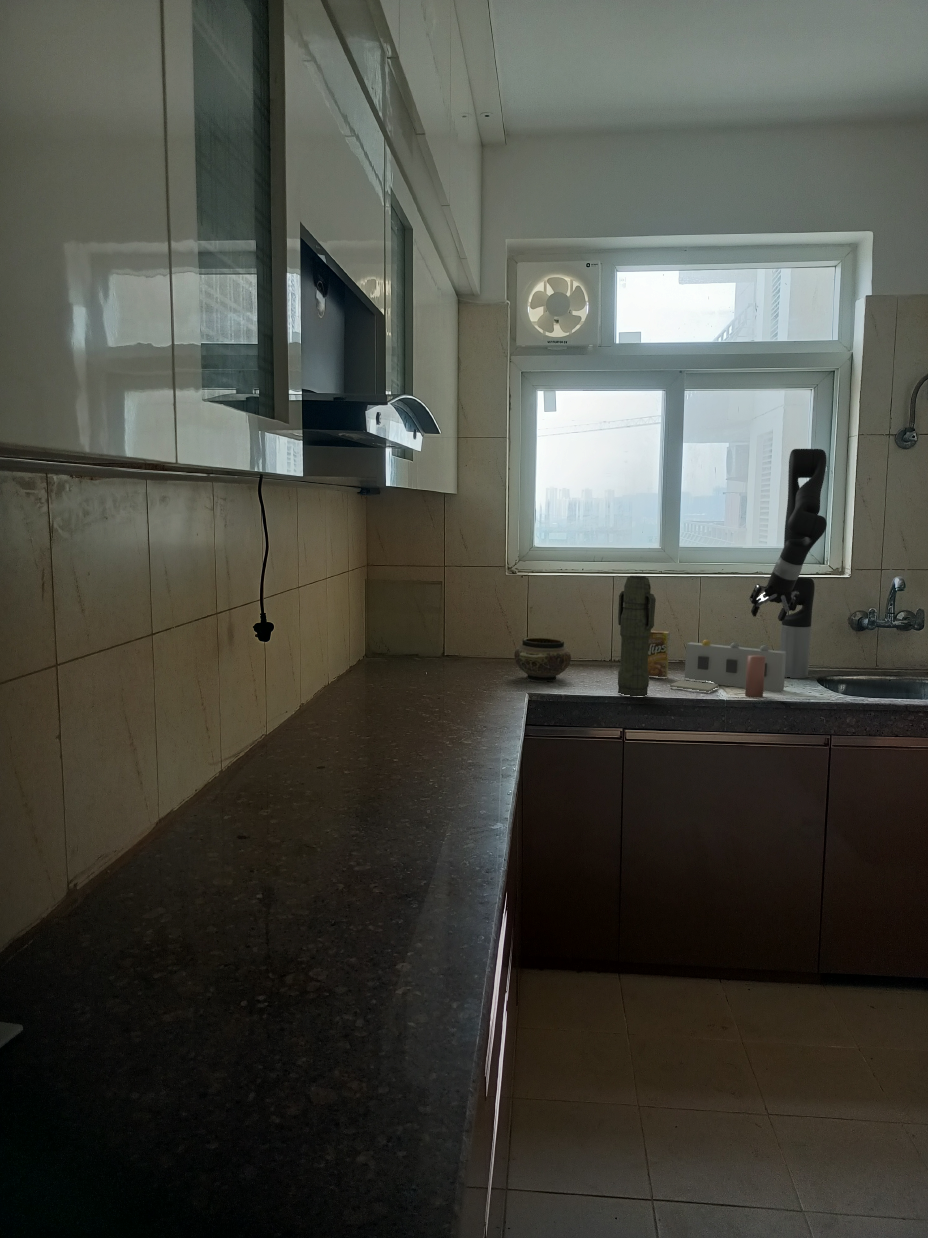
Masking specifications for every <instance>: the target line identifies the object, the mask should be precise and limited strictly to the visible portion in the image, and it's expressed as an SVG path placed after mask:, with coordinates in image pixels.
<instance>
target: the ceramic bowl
mask: <svg viewBox="0 0 928 1238" xmlns="http://www.w3.org/2000/svg"><path fill="white" fill-rule="evenodd" d="M521 642H522V644H520V645H519V646H517V648H515V651H514V656H513V657H514V660H515V663H516V665H517V667H518V669H519V670H521V671H522V672H523V673H525V674H526V679H527V680H528V681H530V680H531V682H533V681H537V682H536V683H548V682H547V681H553V682H555V681H557V676H559V675H561V674H562V673H563V672H565V671H566V669H568V667H569V665H570V663H571V660H572V656H571V653H570V651H569V649H568V648H566V647H565V641H564V640H563V639H562V640H561V639H558V638H553V637H552V638H551V637H540V636H528V637H523V638H522V641H521ZM554 680H555V681H554Z"/></svg>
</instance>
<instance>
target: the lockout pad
mask: <svg viewBox="0 0 928 1238" xmlns="http://www.w3.org/2000/svg"><path fill="white" fill-rule="evenodd" d="M670 687H677V688H683V689H692V690H699V691H706V692H709V691H711V690H713V689H715V688H718V687H720V686H719V685H718V684H710V683H702V682H694V681H686V680H685V679H684V680H683V679H681V680H678V681H676V682H673V683H672V684H669V688H670Z"/></svg>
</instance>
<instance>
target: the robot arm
mask: <svg viewBox="0 0 928 1238" xmlns="http://www.w3.org/2000/svg"><path fill="white" fill-rule="evenodd" d="M826 469H827V454H826V451H825V450H824V449H821V448H794V449H792V450H791V451H790V454H789V458H788V471H787V472H788V473H787V474H788V475H787V476H788V480H787V481H788V483H787V484H788V485H787V488H788V489H787V506H786V513H785V514H786V515H785V521H784V522H785V524H784V538H783V548H782V550H781V553H780V555H779V557H778V559H777V561H776V563H775V565H774V567H773V570H772V572H771V574H770V575H769V579H768V582H767V584H766V585H765V586H762V585H760V583H756V584H755V586H754V588H753V590H752V592H751V594H750V596H749V598H748V599H749V601H750V602H751V603H750V604H751V605H752V607H751V610H750V612H751V615H752V617H754V618H755V617H757V614H758V613H759V610H760V608H761V606H762V605H764V604H767V603H768V602H769V603H776V604H781V605H782V607H781V609H780V611H779V614H778V615H777V619H778V621H779V622H781V629H780V630H781V631H780V643H779V644H780V646H779V651H784V652H786V663H785V678H787V677H790V678H789V679H807V678H808V677H809V664H810V663H809V662H810V650H811V647H810V646H811V634H812V633H811V632H812V618H813V617H812V615H813V605H814V599H815V587H816V586H815V581H814V579H813V578H810V577H800V575H801V571H802V569H803V565H804V564H805V560H806V559H807V557H808V554H809V553H810V550H811V549H812V548H813V547H814V546H815V544H816V543H817V542H818V540H820V539H821V537H822V536H823V535H824V533H825V532H826V529H827V526H828V525H827V519H826V517H824V516H822V515H819V513H820V510H821V496H822V495H821V493H822V488H823V485H824V481H825V475H826ZM799 479H808V480H807V481H806V482H804V483H803V484H802V485H801V486H800V483H799ZM762 592H763V593H762ZM798 606H801V608H800V609H799V610H798V611H796V609H797V607H798ZM791 611H792V612H793V613H791V614H790V613H789V614H788V612H791Z"/></svg>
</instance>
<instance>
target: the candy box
mask: <svg viewBox="0 0 928 1238" xmlns="http://www.w3.org/2000/svg"><path fill="white" fill-rule="evenodd" d="M670 634H671V633H670V631H665V630H651V636H650V638H649V646H648V671H649V676H658V677H667V678H668V672H669V670H668V669H669V656H670V654H669V651H670V650H669V649H670Z"/></svg>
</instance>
